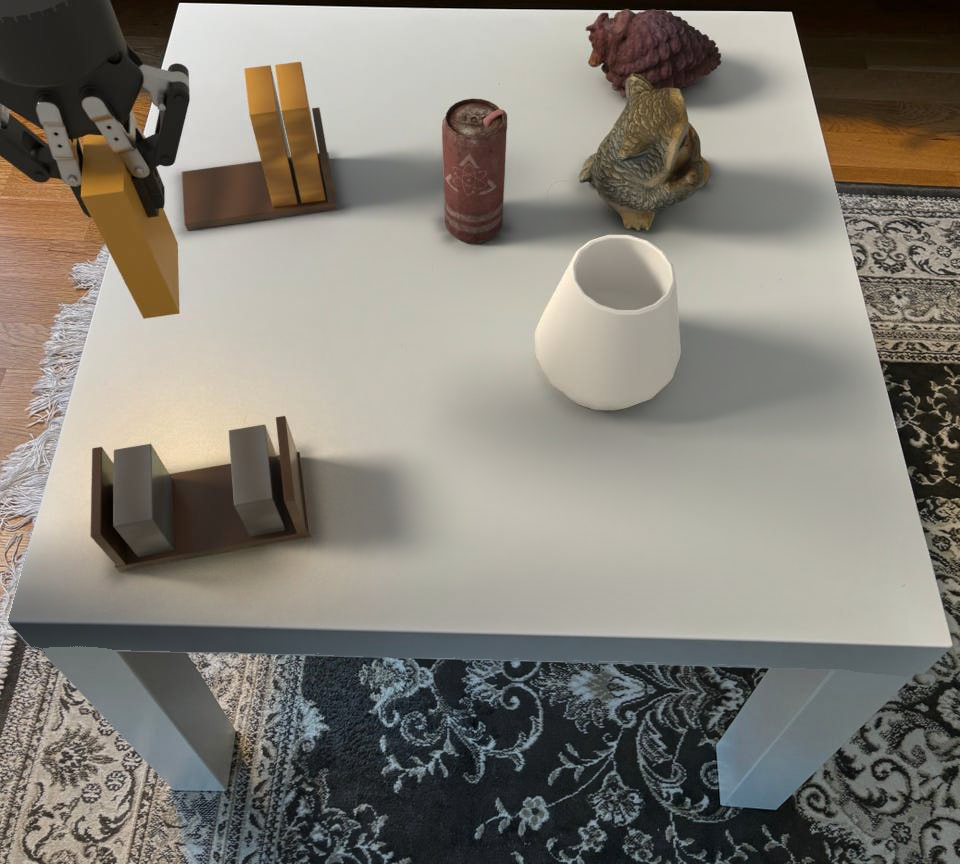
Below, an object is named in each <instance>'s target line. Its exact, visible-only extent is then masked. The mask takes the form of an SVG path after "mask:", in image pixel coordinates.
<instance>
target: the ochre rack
mask: <svg viewBox="0 0 960 864" xmlns="http://www.w3.org/2000/svg"><path fill="white" fill-rule="evenodd" d="M274 69H275V76H276V83H275V79H274V78H275V77H274V74H273V69H272V65H271V64H270V65H262V66H261V65H259V66H252V67H244V69H243V70H244V71H243V72H244V78H245V79H244V80H245V89H246V97H247V106H248V114H249V119H250V122H251V127H252V131H253V135H254V139H255V143H256V146H257V150H258V155H259V158H260V160H259V161H251V162H243V163H235V164H229V165H222V166H221V165H220V166H213V167H205V168H200V169H199V168H198V169H192V170H185V171H181V179H182V180H181V181H182V199H183V200H182V202H183V221H184V223H183V224H184V226H185V229H186V231H193V230H194V231H195V230H199V229H200V230H201V229H208V228H216V227H221V226H228V225H236V224H242V223H244V224H245V223H249V222H256V221H265V220H273V219H279V218H285V217H293V216H299V215H306V214H307V215H308V214H313V213H320V212H329V211H335V210H338V209H339V206H338V201H337V195H336V190H335V184H334V183H335V182H334V178H333V172H332V167H331V161H330V155H329V152H328V148H327V144H326V143H327V142H326V138H325V137H326V136H325V131H324V125H323V119H322V114H321V109H320V107H312V108H311V107H310V101H309V96H308V91H307V85H306V80H305V74H304V69H303V64H302V62H301V61H295V62H286V63H279V64H274ZM276 84H277V86H276ZM277 91H278V92H277ZM311 112H312V114H311ZM312 117H313V119H312ZM313 123H314V124H313Z"/></svg>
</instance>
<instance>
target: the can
mask: <svg viewBox="0 0 960 864" xmlns="http://www.w3.org/2000/svg"><path fill="white" fill-rule="evenodd" d="M507 131H508V113H507V112H506V110H504V109H502V108H500V107H499V106H498V105H497V104H495V103H493V102H492V101H490V100H487V99H483V98H466V99H462V100H460V101H457V102H455V103H453V104H452V105H451V106H450V107H449V108H448V109H447V111H446V112H445V116H444V118H443V119H442V124H441V141H442V142H441V143H442V145H441V146H442V169H443V170H442V171H443V172H442V173H443V175H442V176H443V177H442V178H443V202H444V203H443V205H444V207H443V208H444V224H445V228H446V229H447V231H448V232H449V233H450V235H451V236H452V237H454V238H455V239H457V240H458V241H460V242H463V243H465V244H473V245H475V244H476V245H477V244H482V243H483V244H484V243H485V242H488V241H490V240H491V239H493V238H494V237H495V236H496V235H498V233H499V232H500V230H501V229H502V227H503V220H504V200H505V199H504V198H505V178H506V177H505V176H506V175H505V174H506V156H507V155H506V152H507V133H508V132H507Z"/></svg>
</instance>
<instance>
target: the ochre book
mask: <svg viewBox="0 0 960 864" xmlns="http://www.w3.org/2000/svg"><path fill="white" fill-rule="evenodd" d="M82 148H83V165H82V184H81V198H82V200H83V202H84V204H85V206H86V208H87V210H88V212H89V213H90V215H91V217H92V218H91V220H92V222H93V223H94V225H95V227H96V229H97V231H98V233H99V234H100V237H101V239H102V240H103V243H104V245H105V246H106V249H107V250H108V252H109V254H110V256H111V259H112V261H113V263H114V264H115V266H116V268H117V270H118V273H119V274H120V275H121V278H122V280H123V282H124V283H125V285H126V287H127V289H128V292H129V293H130V296H131V297H132V299H133V301H134V303H135V305H136V307H137V310H138V311H139V313H140V314H141V315H140V316H142V319H144V320H145V319H152V318H159V317H165V316H173V315H179V314H180V313H181V311H180V279H179V278H180V277H179V276H180V275H179V243H178V241H177V238H176V235H175V233H174V230H173V228H172V225H171V224H170V221H169V219H168V216H167V214H166V212H165V211H166V210H164V208H160V209H159V217H151V218H148V216H147V214H146V212H145V210H144V207H143V205H142V203H141V200H140V198H139V196H138V194H137V191H136V189H135V187H134V184H133V182H132V180H131V173H130V171H129V170H128V168H127V167H126V165H125V164H124V162H123V160H122V159H121V157H120V156H119V154H115V153H114V152H113V151H112V149H111V148H110V146H109V144H108V143H107V141H106V140H105V138H104V137H103V136H102V135H85V136H83V144H82Z"/></svg>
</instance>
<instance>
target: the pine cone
mask: <svg viewBox="0 0 960 864" xmlns="http://www.w3.org/2000/svg"><path fill="white" fill-rule="evenodd" d="M609 16H610V14H609V13H608V12H601V13H599V15H598V16H597V18H596V19H595V20H594V22H593V23H592V24H589V25H587V26H585V31H586V32H590V33H589V35H588V41H589V42H590V43H591V44H590V45H591V47H592V50H591V54H590V56H589V58H588V61H587V64H588V65H589V67H592V68H598V67H600V66H601V67H600V69H601V71H602V73H604V74H605V79H606V80H607V81H608V82H609V83H611V89H612V90H613V91H615V92H620V96H621V97H622V98H623V99H624V98H625V99H627V97H626V88H625V87H626V81H627V79H628V77H629V76H630V75H631V74H639V75H641V76H642V77H644V78H645V79H647V80H648V81H650V83H651V84H652V86H653V87H654V88H655V89H662V88H677V89H680V90H681V88H683V87H684V86H691V85H692V84H696V82H697V80H700V79H703V78H704V77H707V76H710V75H711V73H712V72H715V70H717V69H718V67H719V66H720V65H721V64H722V60H721V58H722V53H721V52H719V51H720V49H719V46H716V45H717V43H716V41H715V40H714V39H710V37H709V35H707V34H706V33H704V34H703V33H702V32H701V31H700V29H696V27H695V26H692V25H690V24H689V22H688V21H687V20H685V19H682V17H681V16H678V15H674V14H673V13H672V11H667V10H665V9H659V10H657V9H655V8H652V9H645V10H644V11H638V12H636V13H635V12H633V11H632V10H631V9H630V8H625V9H622V10H620V11H617V12H616V13H615V14H614V16H613V17H609Z"/></svg>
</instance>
